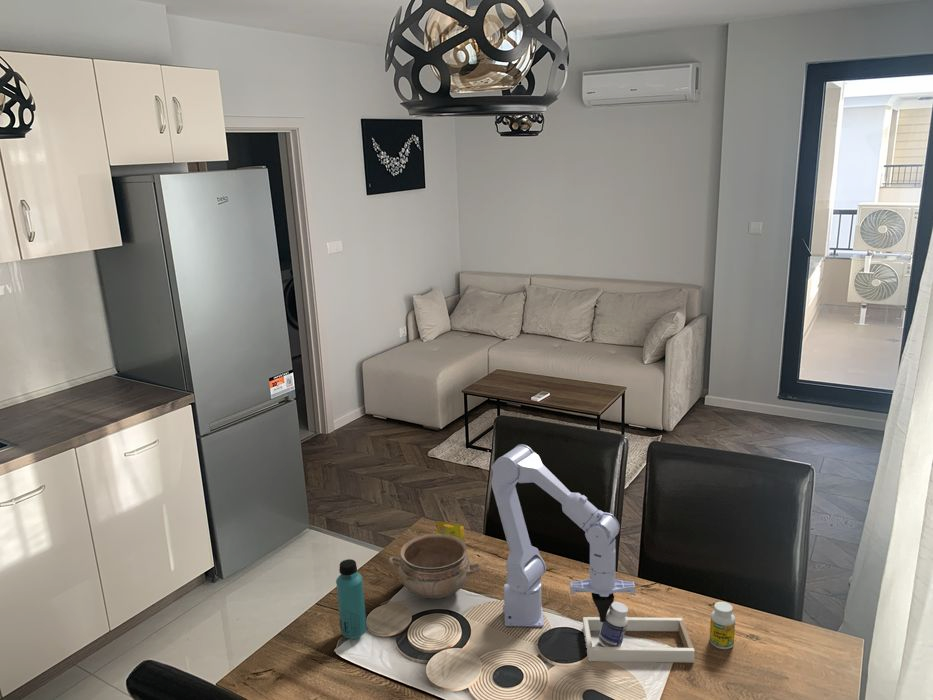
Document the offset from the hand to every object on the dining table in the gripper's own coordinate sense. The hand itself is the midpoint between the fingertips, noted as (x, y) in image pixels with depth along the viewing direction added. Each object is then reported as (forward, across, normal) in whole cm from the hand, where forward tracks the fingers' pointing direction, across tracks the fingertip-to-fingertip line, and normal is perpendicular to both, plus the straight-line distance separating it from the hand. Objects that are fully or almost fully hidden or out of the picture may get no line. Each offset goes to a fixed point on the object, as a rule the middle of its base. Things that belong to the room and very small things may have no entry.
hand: (602, 619), depth 163 cm
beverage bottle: (+6, -59, +2) cm, 60 cm away
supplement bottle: (+7, +28, +1) cm, 29 cm away
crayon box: (+6, -38, +38) cm, 54 cm away
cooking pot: (+6, -41, +21) cm, 47 cm away
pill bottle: (+6, +2, 0) cm, 7 cm away
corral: (+7, +8, 0) cm, 11 cm away
